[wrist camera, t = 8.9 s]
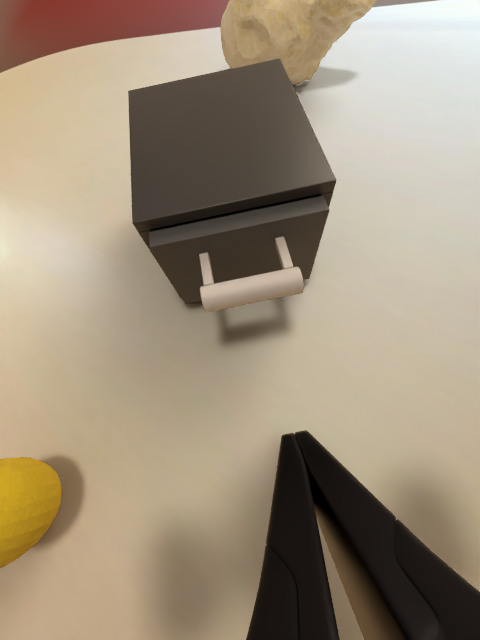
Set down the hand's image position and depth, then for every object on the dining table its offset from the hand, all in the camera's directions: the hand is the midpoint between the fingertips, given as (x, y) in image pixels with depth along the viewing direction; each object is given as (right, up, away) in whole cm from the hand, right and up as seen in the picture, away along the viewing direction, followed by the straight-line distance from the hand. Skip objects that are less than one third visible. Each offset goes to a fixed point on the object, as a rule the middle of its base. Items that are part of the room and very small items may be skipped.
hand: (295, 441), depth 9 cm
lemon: (-15, -9, +10) cm, 21 cm away
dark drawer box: (-3, +13, +18) cm, 23 cm away
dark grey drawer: (-2, +10, +16) cm, 19 cm away
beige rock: (+5, +37, +27) cm, 46 cm away
